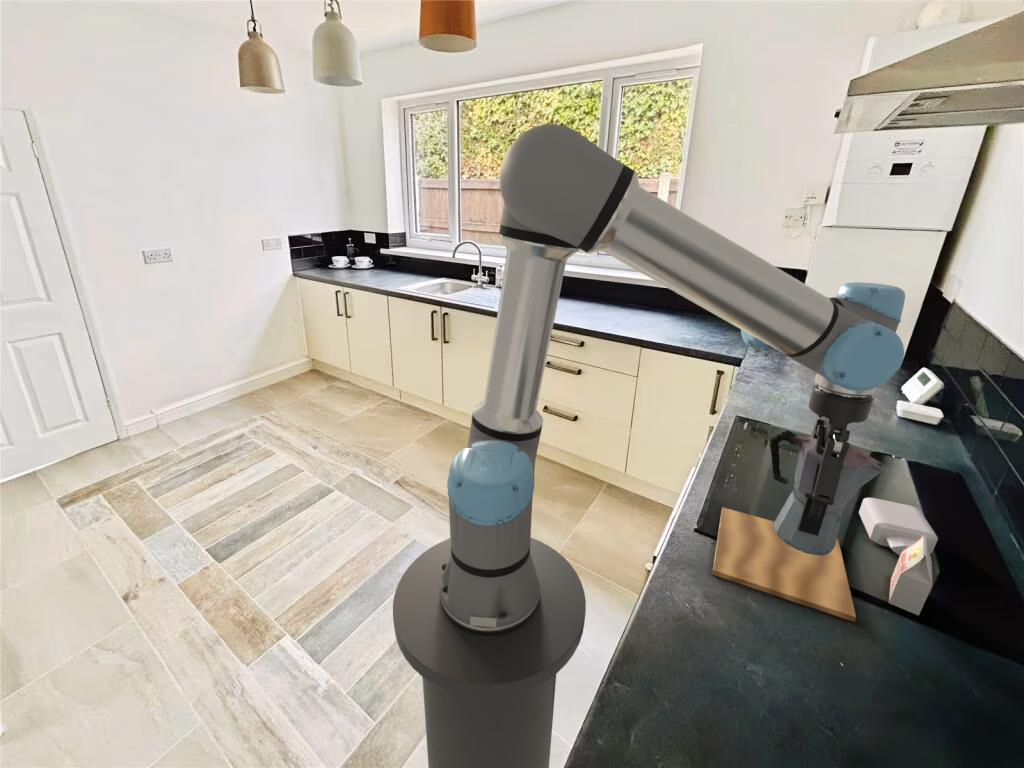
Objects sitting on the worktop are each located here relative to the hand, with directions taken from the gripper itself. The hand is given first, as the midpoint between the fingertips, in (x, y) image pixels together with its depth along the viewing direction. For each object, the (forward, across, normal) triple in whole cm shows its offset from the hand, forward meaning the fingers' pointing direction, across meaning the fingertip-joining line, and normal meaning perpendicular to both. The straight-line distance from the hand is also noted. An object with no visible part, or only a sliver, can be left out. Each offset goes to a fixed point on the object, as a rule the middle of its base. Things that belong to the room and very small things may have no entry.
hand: (805, 516), depth 76 cm
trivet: (+10, +1, +2) cm, 11 cm away
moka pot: (+4, 0, 0) cm, 4 cm away
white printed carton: (+11, +1, -16) cm, 19 cm away
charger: (+11, +16, -18) cm, 26 cm away
